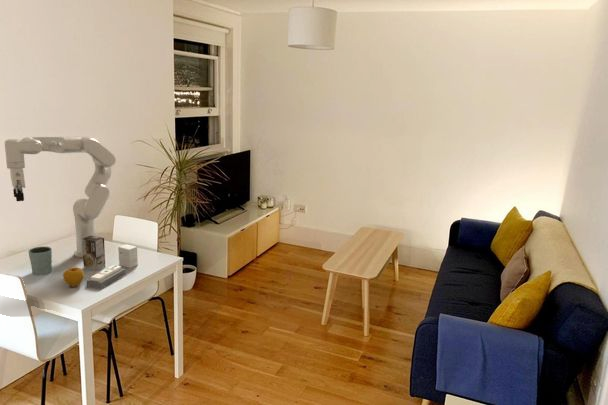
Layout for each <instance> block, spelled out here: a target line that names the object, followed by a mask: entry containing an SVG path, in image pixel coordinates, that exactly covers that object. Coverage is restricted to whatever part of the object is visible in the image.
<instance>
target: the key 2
mask: <svg viewBox="0 0 608 405" xmlns="http://www.w3.org/2000/svg"><path fill="white" fill-rule="evenodd" d="M121 268H122V266H120V265H115V264H112V265H111V266H109V267H107V268H106V269H108V270H114V272H115V273H116V272H118V271H119V270H121Z"/></svg>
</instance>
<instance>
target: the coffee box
mask: <svg viewBox="0 0 608 405" xmlns="http://www.w3.org/2000/svg"><path fill="white" fill-rule="evenodd" d="M82 250H83V257H82V259H83V261H82V262H83V268H84V269H88V270H93V271H99V270H101V269H103V268H105V267H106V253H105V252H106V249H105V238H104V237H101V236H96V235H95V236H88V237H85V238H83V239H82Z"/></svg>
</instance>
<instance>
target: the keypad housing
mask: <svg viewBox="0 0 608 405" xmlns="http://www.w3.org/2000/svg"><path fill="white" fill-rule="evenodd" d="M126 271H127V270H126V268H123V267H121V270H119V271H118V272H116V273H115V272H114V274H112V275H111V276H109V277H106V278H105V279H103V280H102V281H100V282H99V281H93V280H91V277H90V278H88V279H86V281H85V282H86V284H85V285H86V287H89V288H90V287H91V288H95V289H100V290H102V289H104V288H105V287H107V286H108V285H111V284H112V283H114V282H115V281H117V280H119V279H120V278H122V277H124V276H126V274H127V272H126Z"/></svg>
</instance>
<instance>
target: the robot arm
mask: <svg viewBox="0 0 608 405" xmlns="http://www.w3.org/2000/svg"><path fill="white" fill-rule="evenodd" d="M4 149H5V150H4V151H5V160H6V168H7V169H8V170H9V171H10V174H9V175H10V180H11V186H12V187H13V190H12V191H13V192H12V193H13V198H16V199H15V200H16V202H23V201H25V195H24V191H23V189H26V183H25V182H26V181H25V174H24V173H25V172H24V169H25V168H26V163H25V162H26V161H25V155H37V154H40V153H41V152H50V153H57V154H78V153H79V154H81V153H85V154H88V155H89V156H91V158H92V159H91V160H92V161H93V163H94V168H95V169H94V172H93V174H92V176H91V178H90V180H89V181H88V183H87V185H86V186H85V189H84V193H85V195H86V197H87V198H79V199H76V200H75V202H74V203H73V205H72V212H73V216H74V223H75V241H76V250H75V251H74V252H73V254H74V257H78V258H83V250H82V239H83V238H85V237H88V236H96V234H95V232H96V230H95V219H96V218H98V217H99V215H100V214H101V212H102V211H103V209H104V207H105V205H106V204H107V202H108V200H109V198H110V189H109V187H108V186H107V184H108V183H109V181H110V179H111V177H112V176H111V175H112V167H113V166H115V164H116V162H117V161H116V156H115V154H113V153H112V151H110V150H109V149H108V148H106V146H104V145H103V144H102V143H101V142H99V141H98V140H97V139H95V138H93V137H89V136H26V137H23V138H22V139H19V138H18V139H17V138H14V139H12V138H10V139H5V141H4Z"/></svg>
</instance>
